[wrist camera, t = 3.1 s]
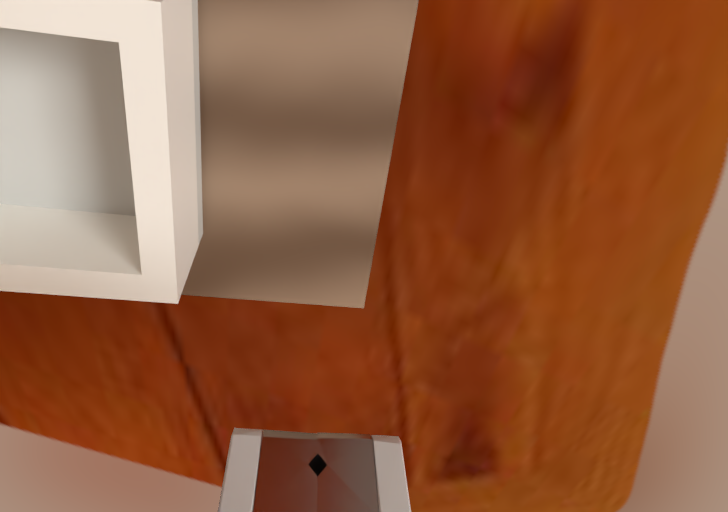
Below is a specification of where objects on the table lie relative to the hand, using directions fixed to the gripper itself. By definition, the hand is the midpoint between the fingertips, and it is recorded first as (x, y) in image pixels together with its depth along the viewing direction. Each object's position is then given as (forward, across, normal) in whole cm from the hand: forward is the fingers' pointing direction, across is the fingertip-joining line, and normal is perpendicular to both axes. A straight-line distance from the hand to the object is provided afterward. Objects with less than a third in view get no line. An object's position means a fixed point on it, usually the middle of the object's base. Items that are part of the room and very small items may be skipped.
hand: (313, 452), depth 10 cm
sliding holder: (+15, +10, 0) cm, 18 cm away
